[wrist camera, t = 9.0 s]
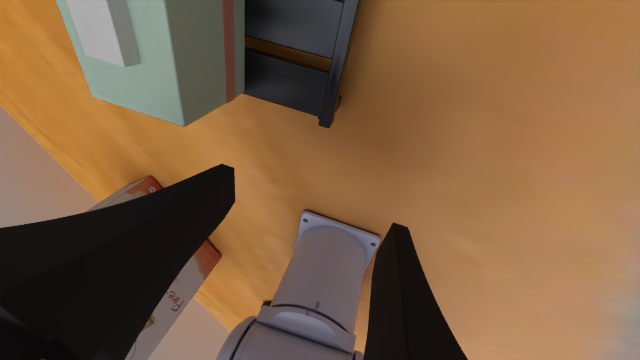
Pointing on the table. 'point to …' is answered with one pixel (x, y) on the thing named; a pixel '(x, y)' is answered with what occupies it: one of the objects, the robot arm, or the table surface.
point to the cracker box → (178, 290)
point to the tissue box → (160, 53)
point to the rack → (304, 35)
